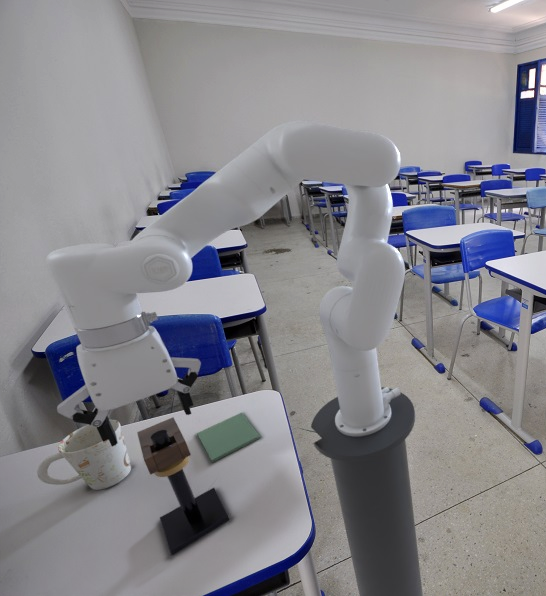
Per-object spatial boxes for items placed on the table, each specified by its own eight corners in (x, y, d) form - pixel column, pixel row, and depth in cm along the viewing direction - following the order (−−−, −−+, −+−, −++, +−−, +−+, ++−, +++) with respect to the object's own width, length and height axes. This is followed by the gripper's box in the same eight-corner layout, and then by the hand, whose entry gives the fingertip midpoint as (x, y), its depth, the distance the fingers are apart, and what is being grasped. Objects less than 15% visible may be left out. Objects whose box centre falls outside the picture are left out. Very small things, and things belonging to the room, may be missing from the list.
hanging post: (215, 491, 67) (184, 409, 60) (229, 519, 61) (197, 433, 55) (161, 521, 61) (120, 435, 55) (171, 555, 56) (127, 464, 49)
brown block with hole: (191, 455, 56) (185, 440, 56) (150, 474, 53) (143, 460, 52) (178, 429, 65) (173, 416, 64) (142, 445, 62) (136, 432, 61)
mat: (242, 414, 86) (241, 412, 86) (260, 437, 79) (259, 435, 78) (197, 435, 80) (197, 433, 80) (212, 462, 73) (211, 460, 73)
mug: (137, 480, 70) (116, 438, 66) (44, 517, 63) (15, 472, 59) (140, 453, 76) (122, 413, 72) (56, 483, 70) (31, 442, 66)
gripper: (179, 306, 62) (206, 392, 68) (29, 343, 51) (79, 442, 57) (190, 318, 57) (218, 410, 63) (26, 362, 46) (81, 468, 52)
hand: (152, 425), depth 60 cm, fingers open, 9 cm apart
